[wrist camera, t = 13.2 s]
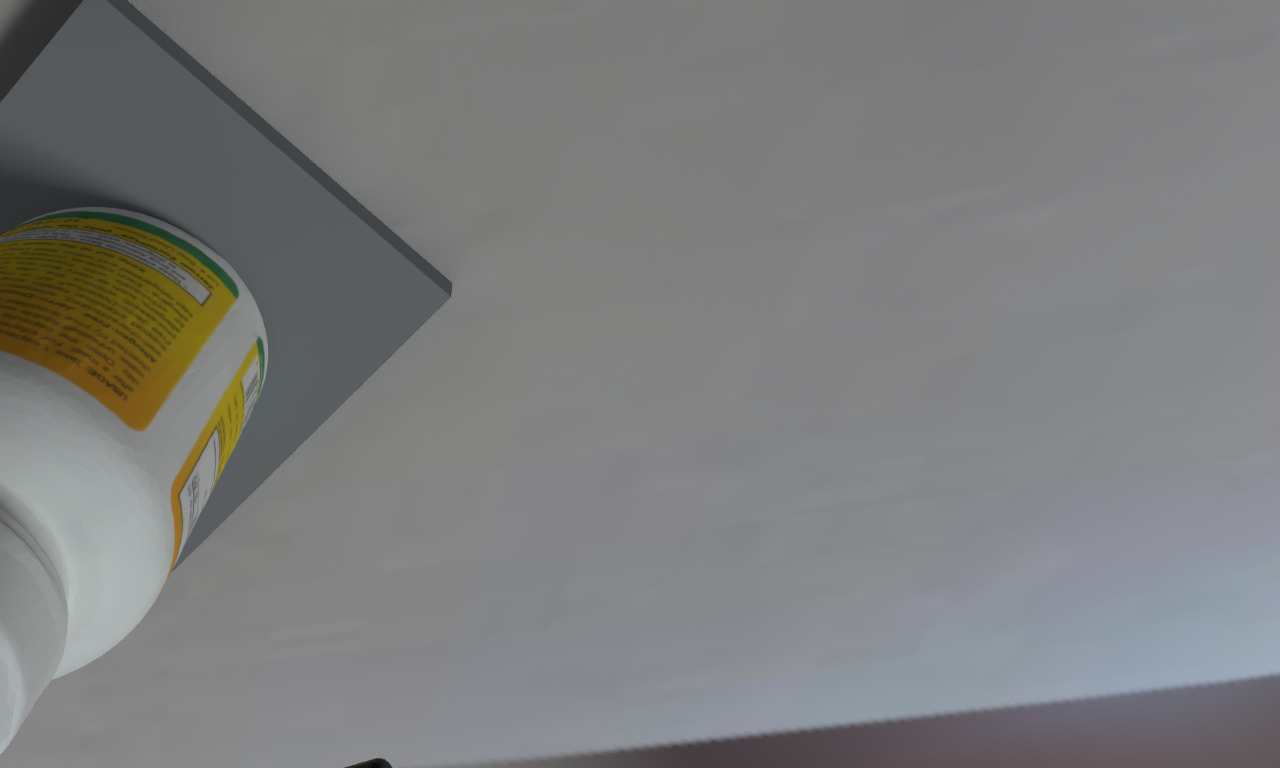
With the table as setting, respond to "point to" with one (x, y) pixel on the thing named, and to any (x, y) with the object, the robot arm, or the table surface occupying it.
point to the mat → (217, 218)
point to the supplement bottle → (107, 427)
